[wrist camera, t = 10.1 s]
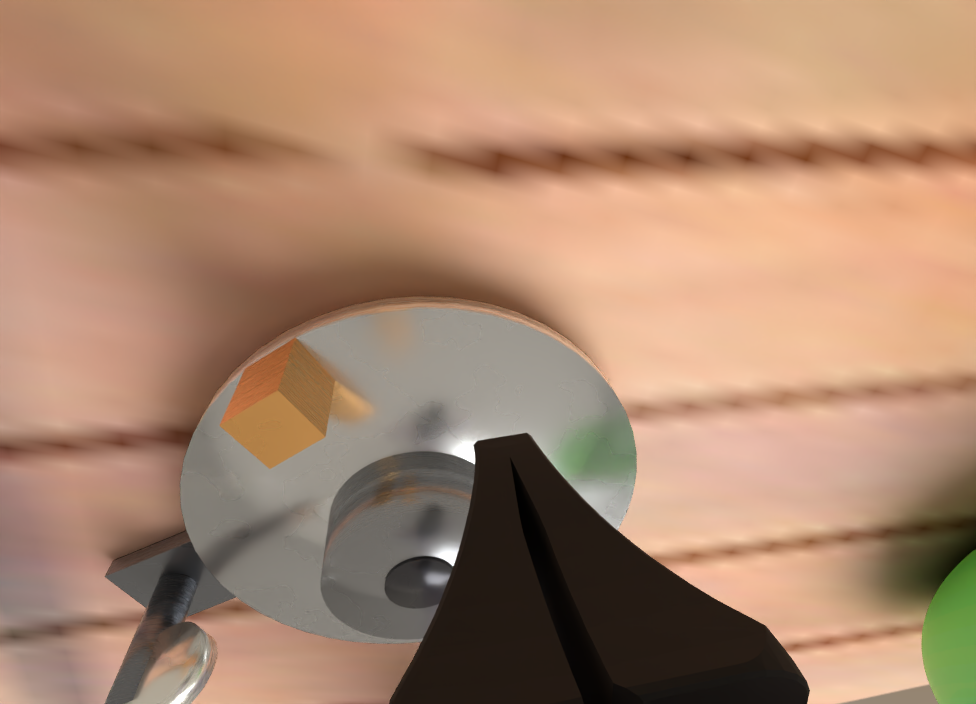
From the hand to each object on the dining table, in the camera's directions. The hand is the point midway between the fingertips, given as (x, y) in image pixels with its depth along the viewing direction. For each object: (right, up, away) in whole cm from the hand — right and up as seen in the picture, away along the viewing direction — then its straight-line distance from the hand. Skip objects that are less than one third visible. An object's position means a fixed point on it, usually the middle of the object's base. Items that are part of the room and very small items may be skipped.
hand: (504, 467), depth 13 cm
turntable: (-3, -3, +9) cm, 10 cm away
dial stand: (-14, -7, +11) cm, 19 cm away
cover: (-3, -4, +9) cm, 10 cm away
